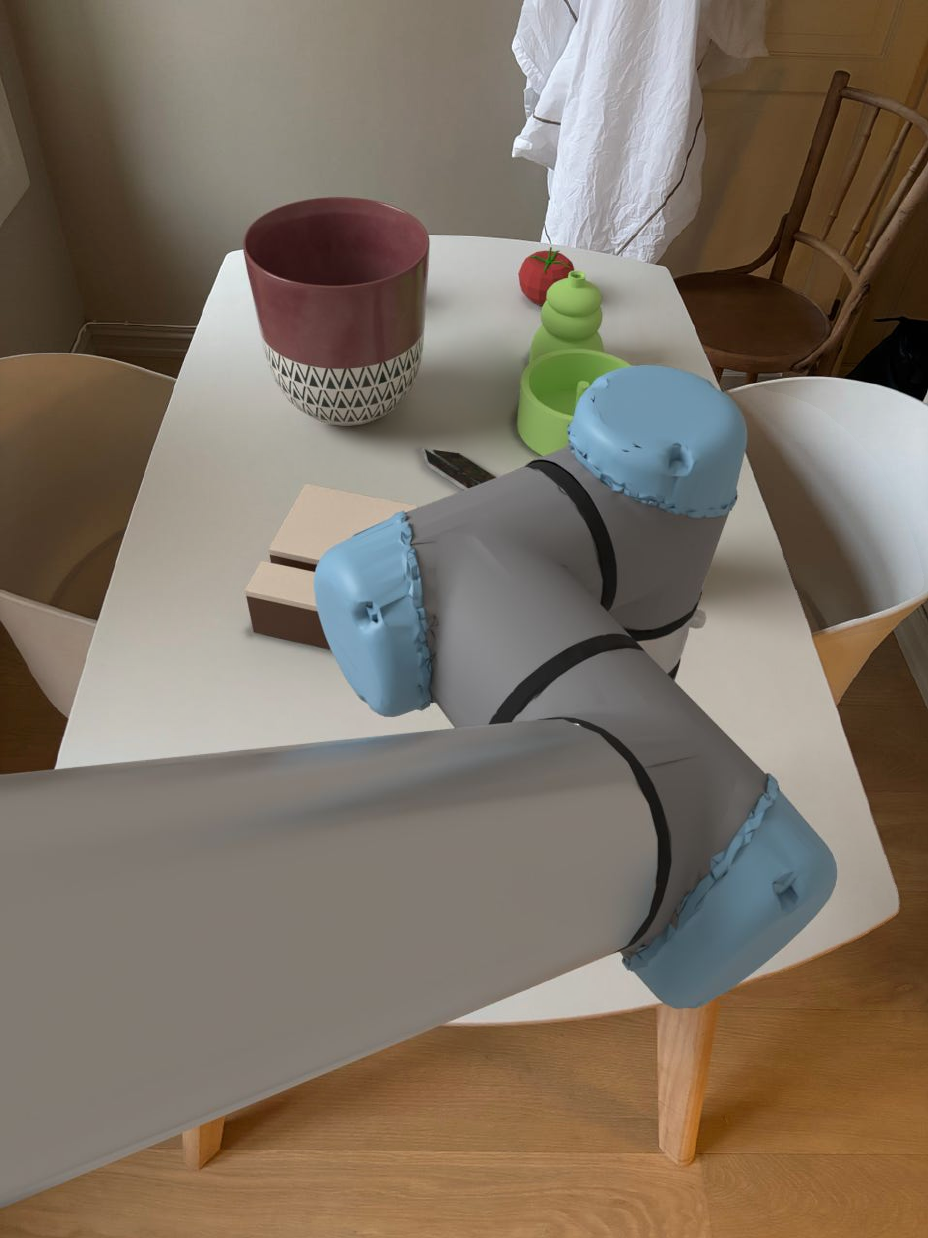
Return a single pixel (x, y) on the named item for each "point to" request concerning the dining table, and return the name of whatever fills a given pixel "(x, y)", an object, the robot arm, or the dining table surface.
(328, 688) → the dining table surface
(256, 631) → the cake slice
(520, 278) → the tomato
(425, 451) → the knife
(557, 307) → the green piece
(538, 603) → the robot arm
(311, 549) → the cake
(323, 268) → the planter
